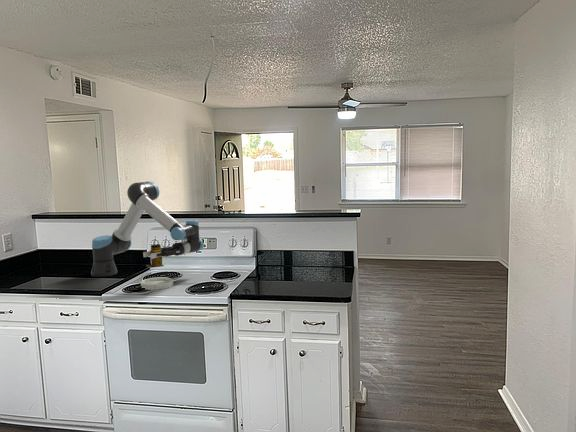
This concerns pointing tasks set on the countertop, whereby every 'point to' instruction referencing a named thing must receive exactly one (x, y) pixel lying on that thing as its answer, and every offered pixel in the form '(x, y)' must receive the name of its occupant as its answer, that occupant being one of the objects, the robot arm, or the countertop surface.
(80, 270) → the countertop surface
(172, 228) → the robot arm
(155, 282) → the white plate
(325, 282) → the countertop surface
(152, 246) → the condiment
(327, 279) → the countertop surface
